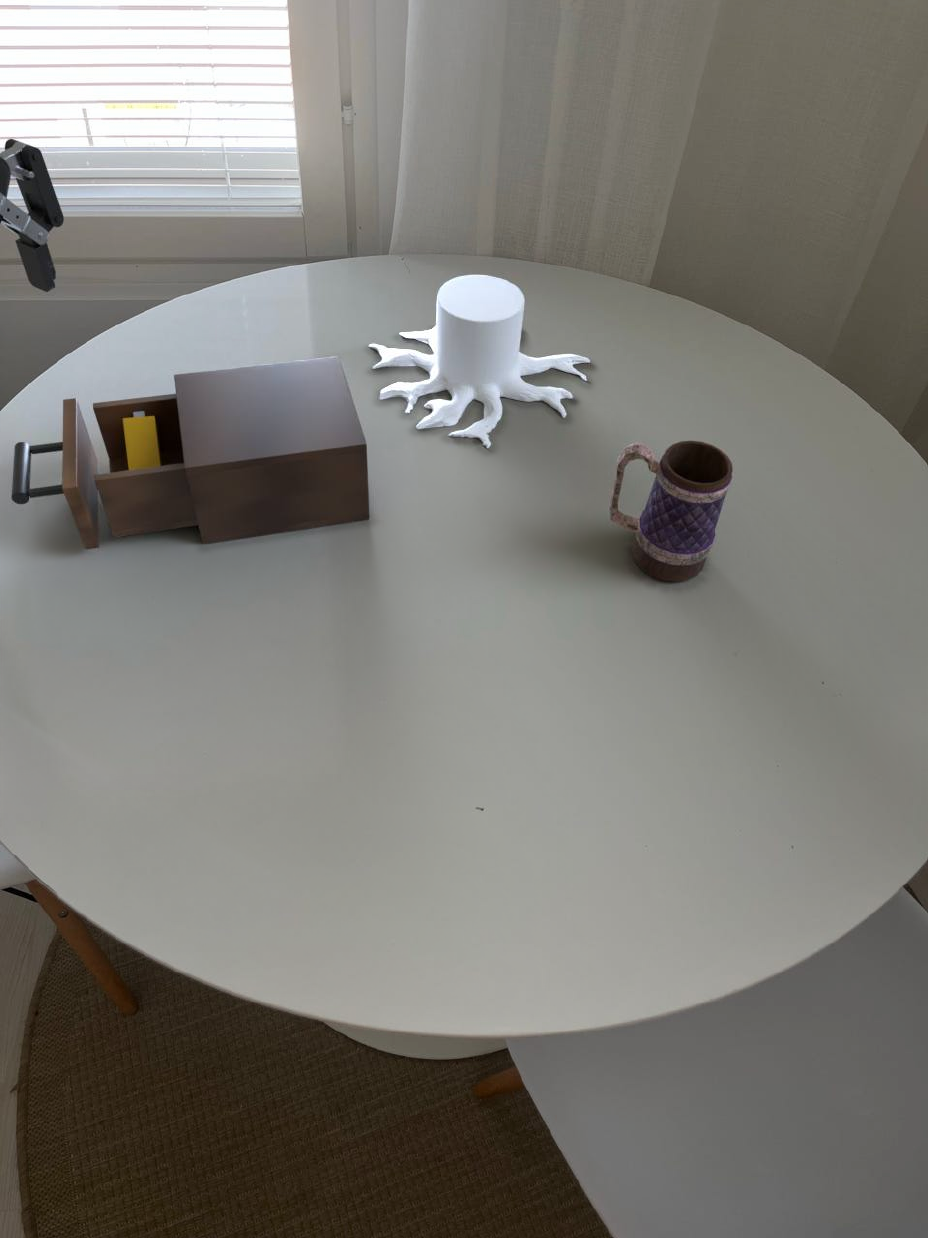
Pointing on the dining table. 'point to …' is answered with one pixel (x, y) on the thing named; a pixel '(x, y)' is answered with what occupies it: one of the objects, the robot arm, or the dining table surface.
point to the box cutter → (142, 441)
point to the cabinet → (272, 448)
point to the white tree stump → (475, 356)
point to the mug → (675, 507)
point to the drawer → (115, 472)
